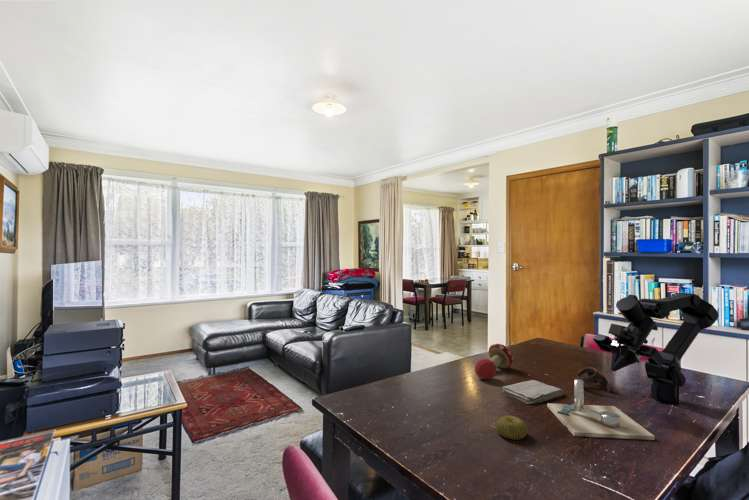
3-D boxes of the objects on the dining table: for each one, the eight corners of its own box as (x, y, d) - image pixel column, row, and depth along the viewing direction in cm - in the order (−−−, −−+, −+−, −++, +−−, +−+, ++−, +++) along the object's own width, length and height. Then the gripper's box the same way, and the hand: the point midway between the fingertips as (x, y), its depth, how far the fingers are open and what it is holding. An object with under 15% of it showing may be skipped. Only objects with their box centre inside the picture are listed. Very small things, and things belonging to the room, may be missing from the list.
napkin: (614, 409, 111) (614, 405, 111) (654, 439, 93) (654, 434, 93) (547, 406, 113) (547, 402, 113) (574, 436, 95) (574, 431, 95)
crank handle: (622, 424, 99) (622, 389, 99) (616, 429, 96) (617, 393, 96) (569, 407, 109) (569, 375, 109) (563, 411, 106) (563, 379, 106)
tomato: (492, 360, 133) (483, 350, 140) (475, 372, 133) (467, 362, 140) (503, 375, 134) (494, 364, 142) (486, 387, 134) (478, 376, 142)
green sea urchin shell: (522, 430, 90) (490, 420, 95) (522, 446, 90) (490, 435, 95) (531, 418, 96) (501, 410, 101) (531, 433, 96) (501, 424, 101)
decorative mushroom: (484, 353, 141) (505, 335, 149) (469, 361, 149) (490, 344, 158) (503, 378, 138) (524, 358, 146) (486, 385, 146) (506, 366, 155)
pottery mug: (613, 397, 122) (601, 376, 122) (584, 403, 127) (572, 383, 127) (610, 377, 132) (598, 358, 132) (583, 384, 137) (572, 365, 137)
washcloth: (499, 394, 124) (499, 385, 124) (533, 384, 133) (533, 376, 133) (529, 407, 114) (529, 397, 114) (564, 396, 122) (564, 387, 122)
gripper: (597, 309, 121) (572, 345, 117) (657, 320, 103) (631, 363, 99) (613, 331, 123) (589, 367, 120) (675, 345, 106) (649, 388, 102)
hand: (612, 370), depth 110 cm, fingers closed
